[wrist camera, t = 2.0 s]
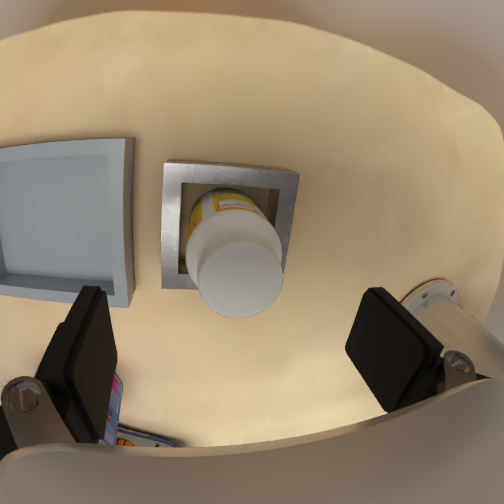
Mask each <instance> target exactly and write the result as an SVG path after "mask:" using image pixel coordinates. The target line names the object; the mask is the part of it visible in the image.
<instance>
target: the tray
mask: <svg viewBox="0 0 504 504" xmlns="http://www.w3.org/2000/svg"><path fill="white" fill-rule="evenodd" d="M134 149H135V138H106V139H83V140H67V141H55V142H45V143H35V144H27V145H19V146H12V147H6V148H0V295H6V296H13V297H20V298H28V299H36V300H44V301H53V302H62V303H72V304H73V303H74V302H75V300H76V298H77V296H78V294H79V292H80V291H81V289H82V287H83V286H84V285H88V286H100V287H101V290H102V291H106V293H107V300H108V306H109V307H121V308H129V306H130V303H131V300H132V297H133V294H134V291H135V275H134V257H133V219H132V204H133V167H134Z"/></svg>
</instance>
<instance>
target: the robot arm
mask: <svg viewBox="0 0 504 504" xmlns="http://www.w3.org/2000/svg"><path fill="white" fill-rule="evenodd" d="M345 350H346V353H347V355H348V356H349V358H350V359H351V361H352V362H353V364H354V365H355V367H356V368H357V370H358V371H359V373H360V374H361V376H362V377H363V379H364V381H365V382H366V384H367V385H368V387H369V388H370V390H371V391H372V393H373V394H374V396H375V397H376V399H377V400H378V402H379V403H380V405H381V407H382V408H383V410H384V411H386V412H388V414H385V415H382V416H378V417H375V418H372V419H369V420H365V421H362V422H358V423H355V424H351V425H347V426H344V427H340V428H336V429H332V430H327V431H323V432H318V433H314V434H309V435H304V436H298V437H293V438H287V439H281V440H274V441H267V442H260V443H251V444H242V445H230V446H216V447H186V448H160V447H135V446H121V445H104V444H99V440H103V439H104V437H105V429H106V422H107V415H108V409H109V403H110V397H111V391H112V385H113V380H114V375H115V370H116V365H117V350H116V345H115V340H114V335H113V330H112V324H111V318H110V312H109V306H108V300H107V293H106V291H102V290H101V287H100V286H88V285H84V286H83V287H82V289H81V291H80V292H79V294H78V296H77V298H76V300H75V302H74V303H73V305H72V307H71V309H70V311H69V313H68V315H67V317H66V319H65V321H64V322H61V323H60V324H59V325H58V327H57V329H56V331H55V333H54V335H53V337H52V339H51V341H50V343H49V345H48V347H47V349H46V352H45V354H44V356H43V358H42V360H41V363H40V365H39V367H38V369H37V372H36V374H35V376H34V378H33V377H30V376H21V377H17V378H14V379H13V380H11V381H9V382H8V383H7V384H6V385H5V387H4V389H3V390H2V393H1V406H0V504H504V345H503V344H502V343H501V342H500V341H499V340H498V339H497V338H495V337H494V336H493V335H492V334H491V333H490V332H489V331H488V330H487V329H485V328H484V327H483V326H482V325H481V324H480V323H479V322H477V321H476V320H475V317H474V316H473V315H469V314H468V313H467V312H466V311H464V310H463V309H462V308H461V307H460V306H459V295H458V292H457V289H456V288H455V287H454V286H453V285H452V284H451V283H449V282H448V281H446V280H442V279H441V280H433V281H430V282H427V283H426V284H424V285H422V286H420V287H419V288H417V289H416V290H414V291H413V292H412V293H411V294H410V295H409V296H407V297H406V298H405V299H404V301H403V302H402V303H401V304H400V303H399V302H398V301H397V300H396V299H395V298H394V297H393V296H392V295H391V294H390V293H389V292H388V291H386V290H385V289H384V288H383V287H372V288H368V290H367V291H366V292H365V293H364V294H363V297H362V300H361V303H360V306H359V309H358V312H357V315H356V317H355V320H354V323H353V326H352V329H351V331H350V334H349V337H348V339H347V342H346V345H345Z"/></svg>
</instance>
